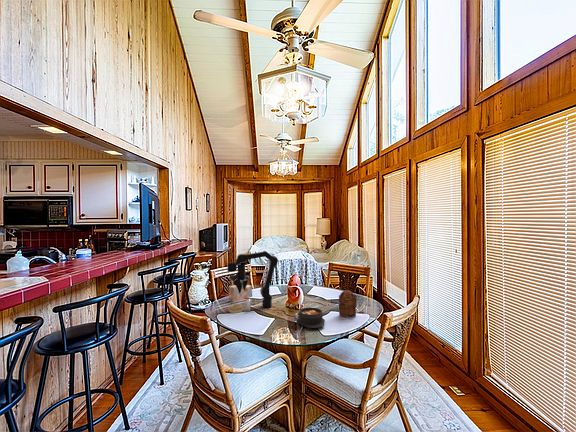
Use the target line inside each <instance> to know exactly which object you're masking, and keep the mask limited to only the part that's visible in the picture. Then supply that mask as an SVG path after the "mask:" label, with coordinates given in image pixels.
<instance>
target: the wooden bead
mask: <svg viewBox="0 0 576 432" xmlns="http://www.w3.org/2000/svg"><path fill="white" fill-rule="evenodd" d="M243 310H244V307H243V304H241V303H233V304H232V303H231V304H230V305H229V306H228V312H229V313H232V314H239V313H242V312H243Z"/></svg>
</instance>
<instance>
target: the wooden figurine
mask: <svg viewBox="0 0 576 432" xmlns="http://www.w3.org/2000/svg"><path fill="white" fill-rule="evenodd" d="M338 303H339V304H338V312H339V313H338V314H339V316H340V317H342V318H345V319H347V318H353V317H354V318H355V317H356V316H357V310H356V309H357V295H356V294H354V293H353V292H352V291H351V290H349V289H345V290H343V291H341V292H340V294H339V295H338Z"/></svg>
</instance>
